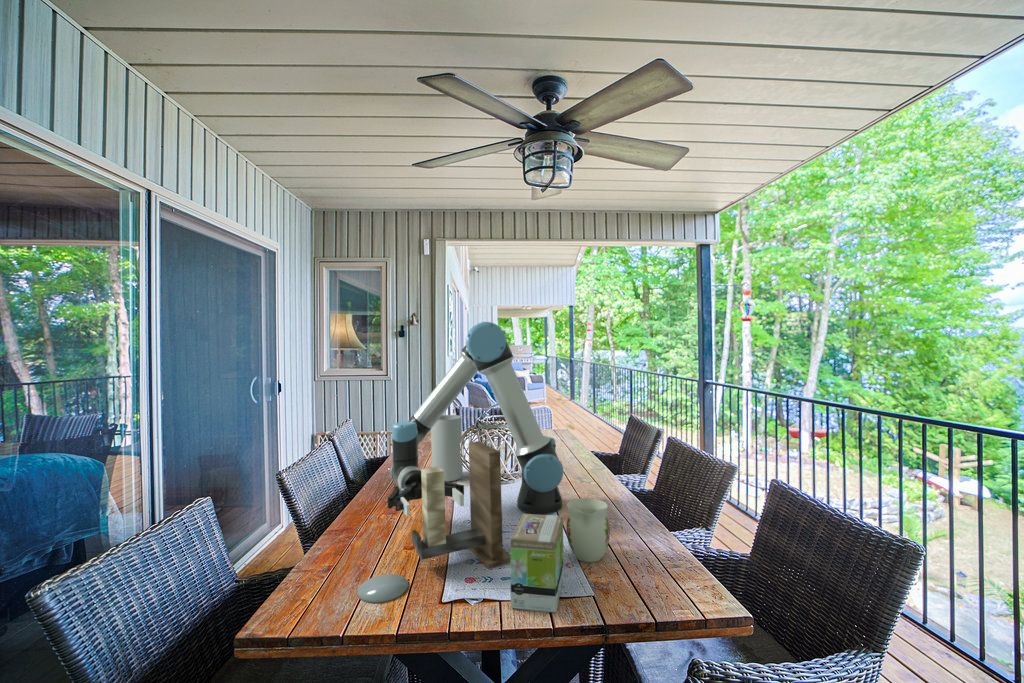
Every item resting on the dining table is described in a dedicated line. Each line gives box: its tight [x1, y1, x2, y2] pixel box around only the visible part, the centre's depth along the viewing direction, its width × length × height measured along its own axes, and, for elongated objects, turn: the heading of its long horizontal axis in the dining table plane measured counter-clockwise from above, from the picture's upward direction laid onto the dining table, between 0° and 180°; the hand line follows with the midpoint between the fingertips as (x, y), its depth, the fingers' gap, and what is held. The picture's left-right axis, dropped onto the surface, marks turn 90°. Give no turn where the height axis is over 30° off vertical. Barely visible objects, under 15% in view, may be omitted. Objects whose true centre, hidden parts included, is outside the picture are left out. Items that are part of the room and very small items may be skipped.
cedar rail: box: [420, 467, 447, 547], centre depth 115 cm, size 4×4×18 cm
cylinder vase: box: [430, 414, 464, 483], centre depth 190 cm, size 12×12×25 cm
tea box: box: [510, 513, 564, 613], centre depth 102 cm, size 15×10×15 cm, turn 168°
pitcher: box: [565, 497, 611, 563], centre depth 119 cm, size 11×18×14 cm, turn 174°
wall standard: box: [411, 441, 511, 570], centre depth 118 cm, size 23×16×28 cm
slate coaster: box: [357, 573, 409, 604], centre depth 105 cm, size 11×11×1 cm
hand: (436, 505), depth 112 cm, fingers open, 13 cm apart
